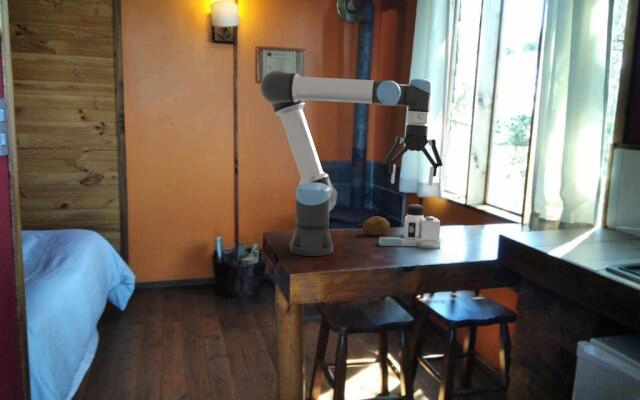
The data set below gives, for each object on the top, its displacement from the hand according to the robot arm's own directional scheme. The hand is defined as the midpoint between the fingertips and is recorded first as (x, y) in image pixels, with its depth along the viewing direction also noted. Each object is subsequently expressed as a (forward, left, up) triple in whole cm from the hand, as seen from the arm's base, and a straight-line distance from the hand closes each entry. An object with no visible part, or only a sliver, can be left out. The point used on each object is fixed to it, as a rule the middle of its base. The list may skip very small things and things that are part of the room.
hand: (411, 184), depth 185 cm
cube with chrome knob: (+8, +4, -21) cm, 23 cm away
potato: (-10, +20, -24) cm, 33 cm away
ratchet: (+1, +4, -24) cm, 24 cm away
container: (+5, +18, -24) cm, 30 cm away
